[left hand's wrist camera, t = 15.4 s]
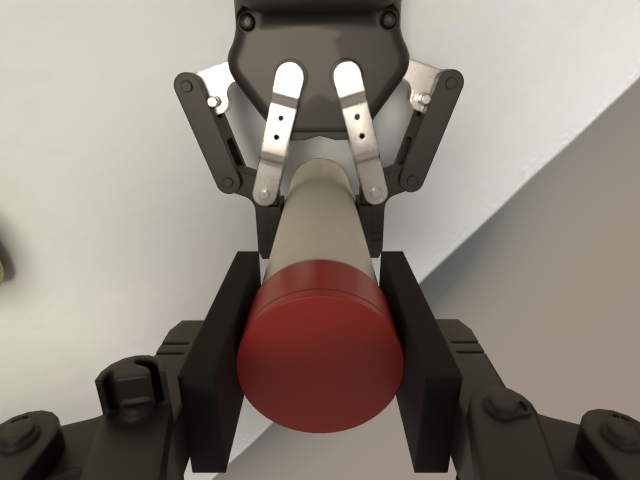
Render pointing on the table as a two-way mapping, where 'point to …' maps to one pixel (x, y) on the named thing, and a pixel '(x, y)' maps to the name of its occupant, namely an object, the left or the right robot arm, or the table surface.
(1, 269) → the sculpture
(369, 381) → the lid
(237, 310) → the left robot arm
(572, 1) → the table surface
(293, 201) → the white cylindrical bottle
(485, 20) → the table surface
